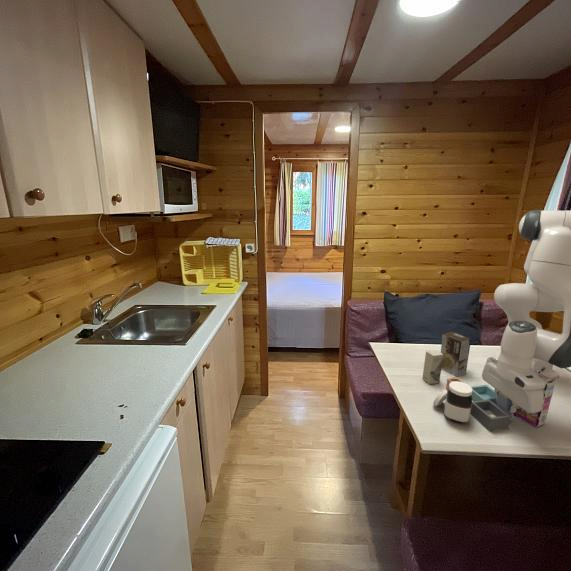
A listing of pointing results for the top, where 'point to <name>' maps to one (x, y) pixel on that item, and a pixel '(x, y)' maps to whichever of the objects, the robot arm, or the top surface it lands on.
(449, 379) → the cup
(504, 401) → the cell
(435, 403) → the spread jar
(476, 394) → the trough
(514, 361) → the robot arm
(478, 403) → the box
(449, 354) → the coffee box
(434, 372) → the box
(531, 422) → the candy bar box
